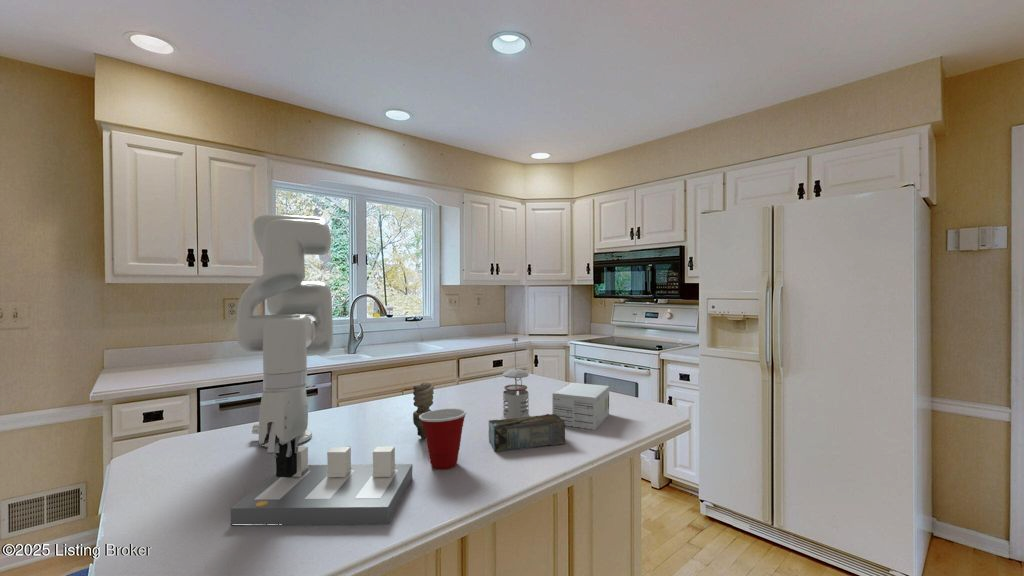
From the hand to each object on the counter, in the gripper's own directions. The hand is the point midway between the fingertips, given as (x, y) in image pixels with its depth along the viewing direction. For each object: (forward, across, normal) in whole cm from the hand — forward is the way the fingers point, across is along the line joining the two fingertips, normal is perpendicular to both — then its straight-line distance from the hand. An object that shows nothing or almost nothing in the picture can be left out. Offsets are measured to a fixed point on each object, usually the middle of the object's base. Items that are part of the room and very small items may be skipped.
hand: (286, 475), depth 84 cm
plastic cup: (+5, -16, +28) cm, 32 cm away
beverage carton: (+5, -29, +47) cm, 55 cm away
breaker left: (+1, -4, 0) cm, 4 cm away
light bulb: (+4, -33, +20) cm, 38 cm away
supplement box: (+5, -49, +64) cm, 81 cm away
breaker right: (+1, -4, +18) cm, 18 cm away
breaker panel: (+5, 0, +9) cm, 10 cm away
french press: (+4, -51, +44) cm, 68 cm away
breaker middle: (+1, -4, +9) cm, 10 cm away
